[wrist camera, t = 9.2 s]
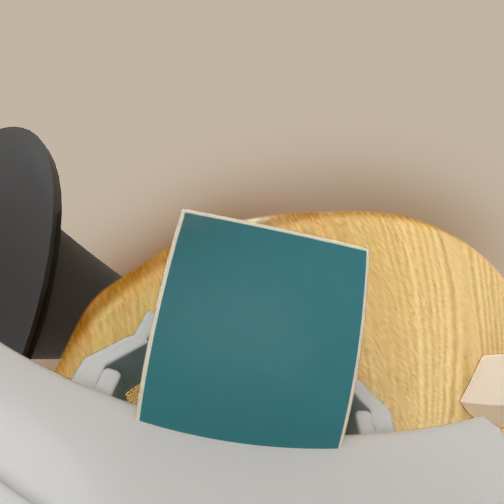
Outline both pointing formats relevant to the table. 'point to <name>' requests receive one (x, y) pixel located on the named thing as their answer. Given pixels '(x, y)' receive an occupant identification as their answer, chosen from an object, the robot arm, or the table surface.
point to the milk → (487, 390)
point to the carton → (255, 335)
